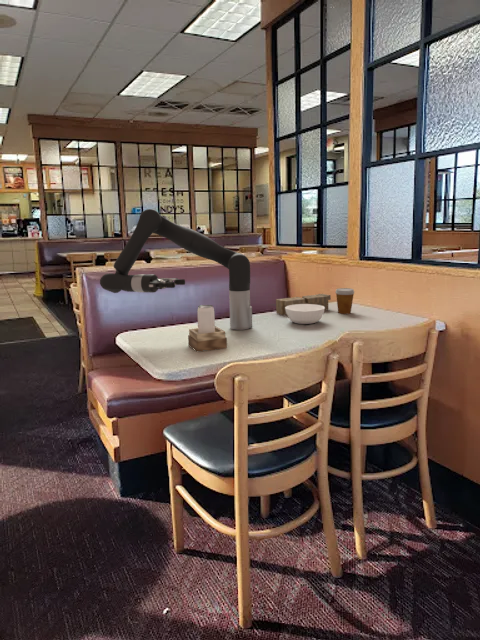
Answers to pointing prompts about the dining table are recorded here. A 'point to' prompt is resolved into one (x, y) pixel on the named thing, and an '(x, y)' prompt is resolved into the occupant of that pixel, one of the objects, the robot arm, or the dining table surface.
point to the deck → (207, 344)
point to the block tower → (302, 302)
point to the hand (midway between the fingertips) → (179, 283)
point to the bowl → (304, 313)
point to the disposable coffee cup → (344, 300)
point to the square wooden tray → (207, 334)
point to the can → (206, 319)
